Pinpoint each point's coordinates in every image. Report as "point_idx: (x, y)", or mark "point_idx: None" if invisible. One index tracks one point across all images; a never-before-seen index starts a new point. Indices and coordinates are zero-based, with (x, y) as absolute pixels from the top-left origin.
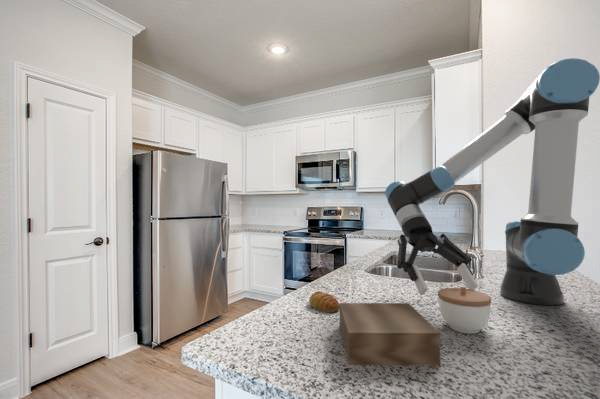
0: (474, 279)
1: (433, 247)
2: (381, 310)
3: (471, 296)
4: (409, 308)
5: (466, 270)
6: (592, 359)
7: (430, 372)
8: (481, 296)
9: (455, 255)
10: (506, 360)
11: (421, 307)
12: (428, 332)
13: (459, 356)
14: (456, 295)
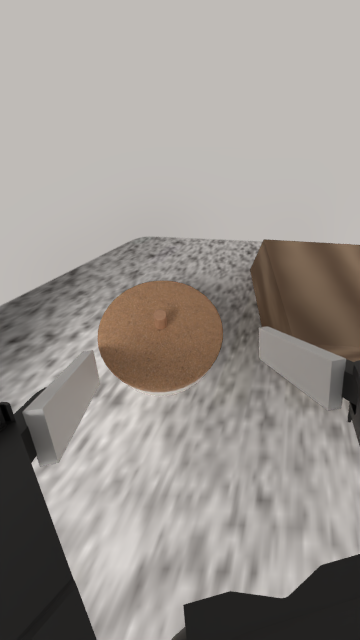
0: (72, 362)
1: (203, 600)
2: (351, 307)
3: (157, 303)
4: (295, 313)
5: (66, 379)
6: (73, 270)
7: None
8: (133, 301)
9: (4, 472)
10: (172, 273)
11: (203, 519)
12: (277, 241)
13: (221, 282)
14: (188, 311)
